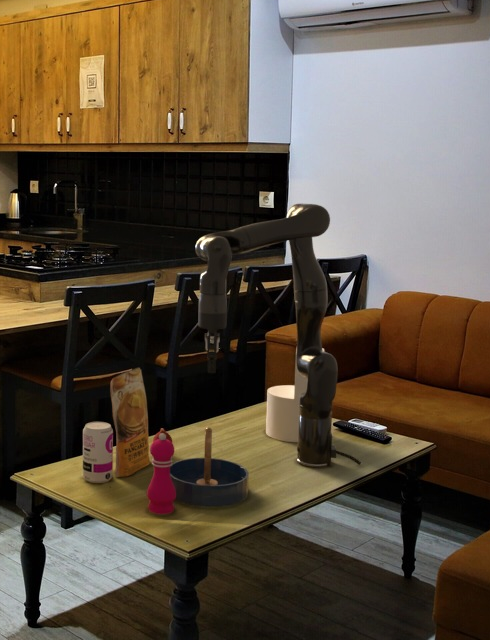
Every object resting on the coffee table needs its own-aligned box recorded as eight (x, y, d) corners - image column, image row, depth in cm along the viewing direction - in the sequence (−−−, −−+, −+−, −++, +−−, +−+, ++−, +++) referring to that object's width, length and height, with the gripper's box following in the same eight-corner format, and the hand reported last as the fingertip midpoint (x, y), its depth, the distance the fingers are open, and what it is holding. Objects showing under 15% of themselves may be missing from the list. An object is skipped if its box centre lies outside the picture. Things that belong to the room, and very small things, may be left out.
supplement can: (116, 475, 244) (117, 422, 242) (106, 485, 236) (107, 431, 234) (89, 471, 246) (89, 419, 245) (78, 481, 239) (78, 428, 237)
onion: (172, 451, 264) (173, 426, 263) (171, 458, 259) (172, 431, 258) (153, 451, 265) (153, 425, 264) (152, 457, 259) (152, 430, 258)
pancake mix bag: (101, 476, 243) (101, 377, 240) (138, 457, 259) (139, 364, 255) (121, 481, 239) (122, 380, 236) (158, 462, 255) (159, 367, 251)
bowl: (247, 481, 241) (247, 460, 240) (248, 511, 220) (249, 488, 219) (169, 476, 243) (169, 455, 243) (163, 506, 222) (164, 483, 222)
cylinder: (320, 428, 290) (324, 344, 286) (320, 444, 273) (324, 355, 269) (267, 424, 293) (270, 341, 290) (264, 439, 277) (267, 352, 273)
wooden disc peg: (217, 487, 234) (219, 424, 232) (217, 495, 228) (219, 431, 226) (196, 486, 235) (198, 423, 232) (195, 494, 229) (197, 430, 227)
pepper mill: (144, 505, 222) (146, 429, 220) (173, 505, 223) (174, 428, 220) (148, 517, 215) (149, 438, 213) (177, 516, 216) (179, 437, 213)
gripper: (227, 314, 228) (225, 376, 230) (226, 305, 242) (225, 363, 244) (197, 314, 229) (197, 375, 231) (199, 305, 243) (198, 362, 245)
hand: (211, 369), depth 238 cm, fingers open, 8 cm apart
